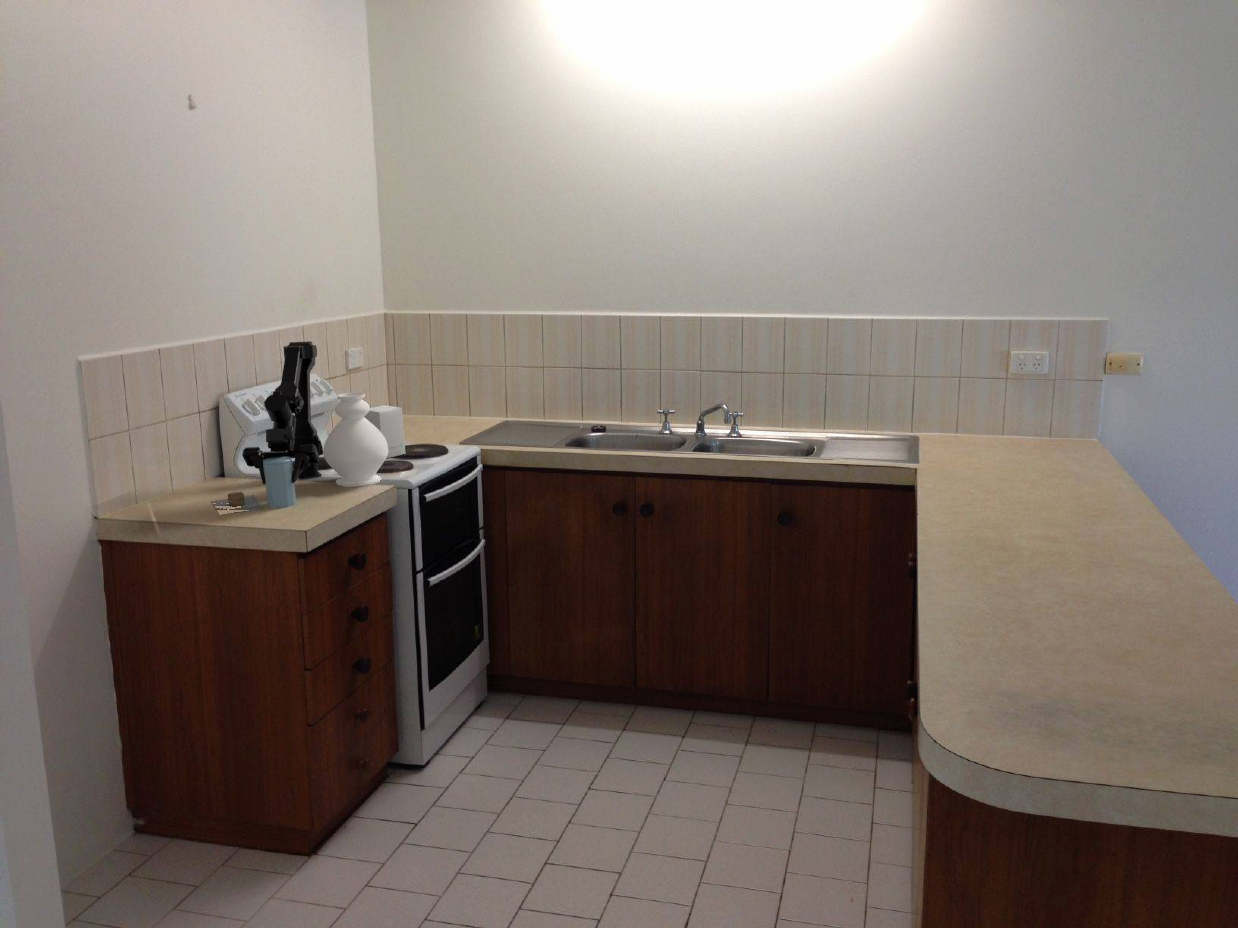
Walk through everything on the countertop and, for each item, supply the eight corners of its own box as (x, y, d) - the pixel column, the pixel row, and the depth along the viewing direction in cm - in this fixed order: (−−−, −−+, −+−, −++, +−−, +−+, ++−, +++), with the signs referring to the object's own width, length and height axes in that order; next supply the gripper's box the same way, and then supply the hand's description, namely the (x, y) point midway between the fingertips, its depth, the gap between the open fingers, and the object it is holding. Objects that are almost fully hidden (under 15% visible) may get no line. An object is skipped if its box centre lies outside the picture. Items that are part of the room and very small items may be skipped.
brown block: (227, 504, 287) (226, 493, 286) (243, 502, 288) (242, 491, 288) (230, 507, 283) (228, 496, 282) (245, 505, 285) (244, 494, 284)
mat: (211, 503, 290) (210, 501, 290) (253, 496, 295) (253, 495, 295) (219, 517, 276) (219, 515, 276) (263, 510, 281) (263, 508, 281)
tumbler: (266, 504, 287) (261, 458, 284) (293, 501, 290) (288, 455, 287) (270, 511, 281) (265, 464, 278) (298, 507, 284) (293, 460, 281)
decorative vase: (314, 483, 308) (305, 396, 302) (366, 470, 321) (359, 387, 315) (350, 492, 297) (342, 402, 291) (403, 479, 309) (396, 392, 304)
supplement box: (406, 454, 341) (403, 407, 338) (382, 459, 335) (378, 411, 331) (389, 450, 347) (385, 404, 344) (365, 455, 341) (361, 408, 337)
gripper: (240, 417, 283) (233, 468, 275) (312, 414, 284) (308, 465, 276) (251, 440, 293) (244, 490, 284) (321, 437, 294) (317, 487, 286)
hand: (278, 482), depth 282 cm, fingers closed on tumbler, 7 cm apart
